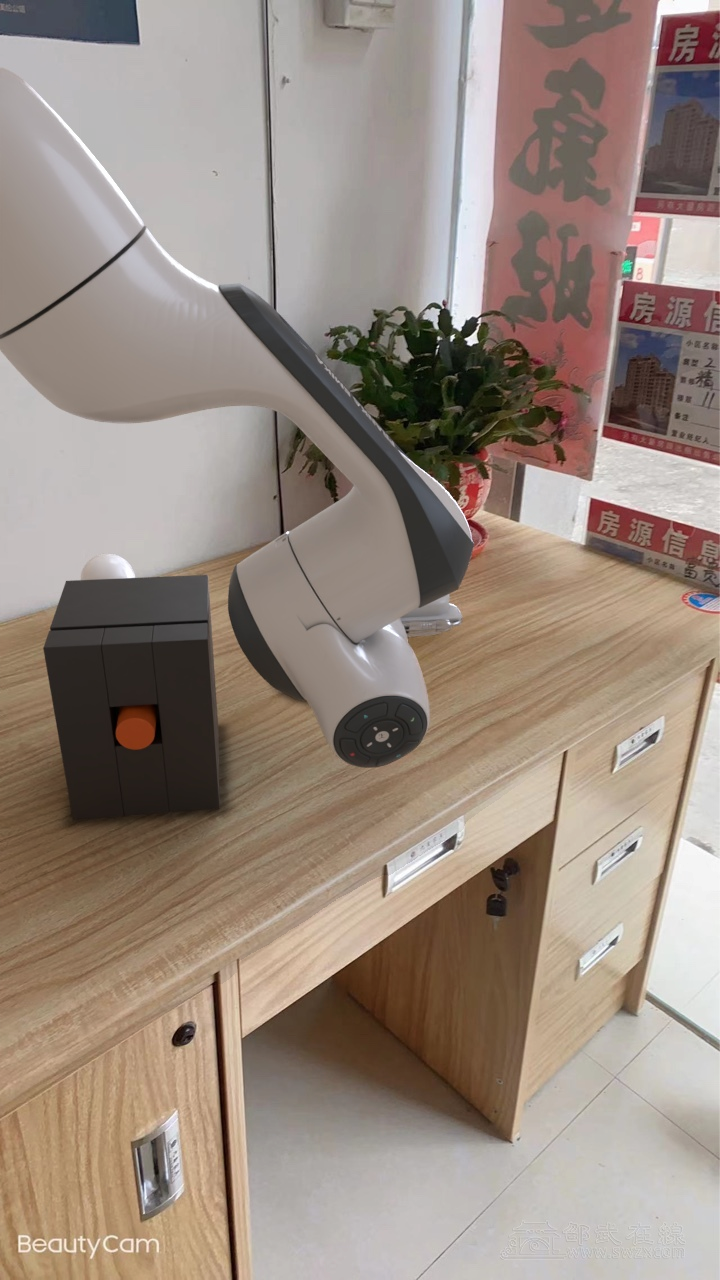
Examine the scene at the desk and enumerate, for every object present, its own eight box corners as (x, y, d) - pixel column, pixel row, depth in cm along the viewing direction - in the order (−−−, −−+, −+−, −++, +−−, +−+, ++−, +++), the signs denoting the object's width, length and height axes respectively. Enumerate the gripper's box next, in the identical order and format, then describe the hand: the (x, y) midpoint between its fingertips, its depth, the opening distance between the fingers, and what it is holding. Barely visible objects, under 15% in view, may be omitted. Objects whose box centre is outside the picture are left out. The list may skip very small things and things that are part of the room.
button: (117, 751, 75) (113, 719, 73) (121, 728, 77) (117, 697, 76) (156, 748, 75) (152, 717, 73) (158, 726, 78) (155, 695, 76)
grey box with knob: (73, 823, 79) (42, 647, 70) (90, 740, 90) (65, 580, 82) (219, 812, 81) (207, 639, 72) (218, 732, 92) (208, 574, 83)
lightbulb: (91, 627, 112) (79, 546, 107) (142, 624, 113) (133, 544, 108) (86, 651, 107) (74, 567, 101) (140, 647, 108) (131, 564, 102)
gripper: (471, 595, 76) (435, 536, 88) (232, 605, 73) (229, 543, 85) (465, 658, 79) (431, 593, 91) (235, 671, 76) (232, 602, 88)
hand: (332, 569), depth 88 cm, fingers closed on pill bottle, 5 cm apart
